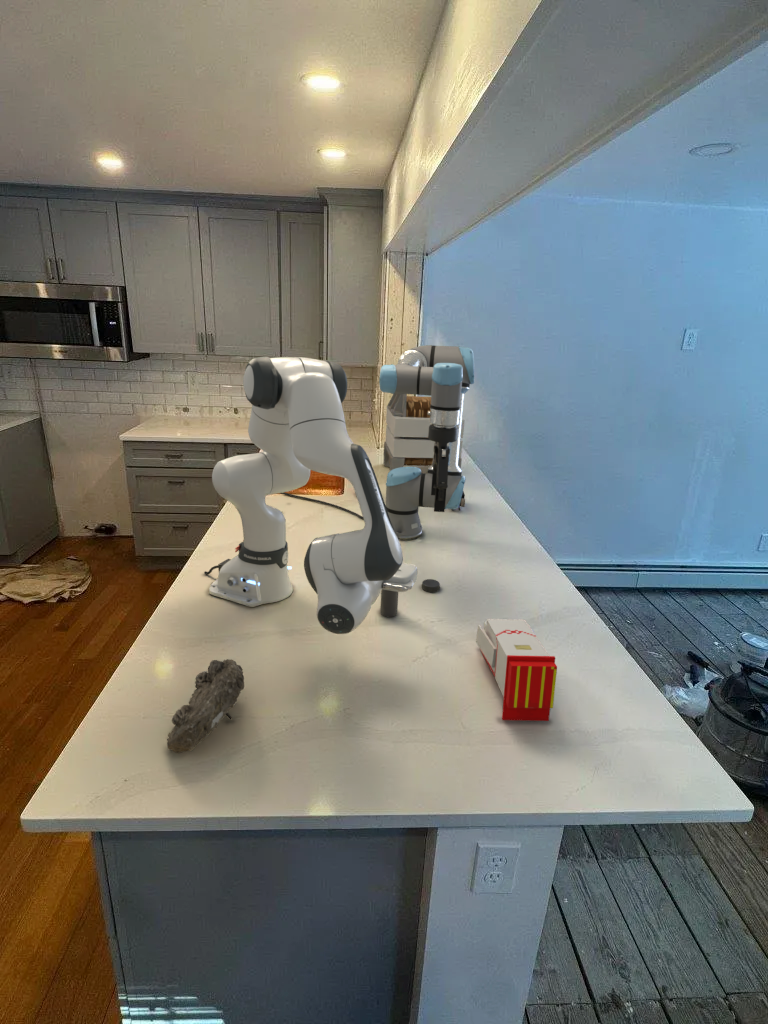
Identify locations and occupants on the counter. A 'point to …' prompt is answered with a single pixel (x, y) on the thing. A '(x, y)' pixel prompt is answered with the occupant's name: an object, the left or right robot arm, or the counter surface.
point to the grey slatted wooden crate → (410, 432)
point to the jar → (389, 603)
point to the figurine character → (462, 501)
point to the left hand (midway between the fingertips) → (379, 557)
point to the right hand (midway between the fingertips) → (437, 503)
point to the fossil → (206, 705)
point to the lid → (430, 585)
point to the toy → (519, 668)
